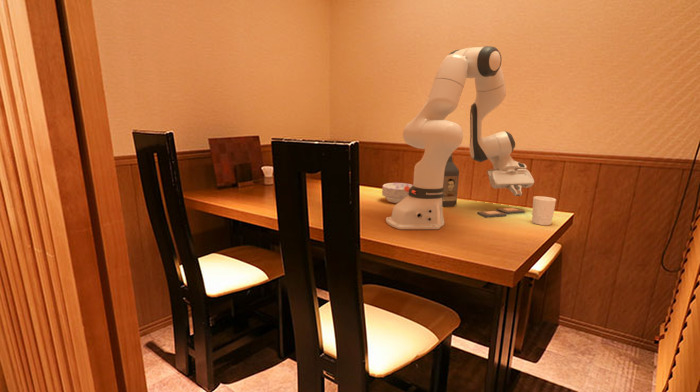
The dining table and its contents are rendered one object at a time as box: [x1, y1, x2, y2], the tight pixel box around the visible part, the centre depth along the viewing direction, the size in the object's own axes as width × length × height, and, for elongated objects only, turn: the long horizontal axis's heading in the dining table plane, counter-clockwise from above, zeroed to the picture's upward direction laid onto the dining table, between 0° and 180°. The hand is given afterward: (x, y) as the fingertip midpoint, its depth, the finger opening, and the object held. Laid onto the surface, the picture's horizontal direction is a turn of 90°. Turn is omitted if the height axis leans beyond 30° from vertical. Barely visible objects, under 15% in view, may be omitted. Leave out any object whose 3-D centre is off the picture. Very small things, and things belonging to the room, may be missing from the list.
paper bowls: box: [382, 182, 413, 204], centre depth 177 cm, size 15×15×8 cm
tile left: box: [476, 210, 508, 219], centre depth 156 cm, size 10×6×1 cm, turn 106°
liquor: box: [442, 151, 460, 208], centre depth 170 cm, size 9×9×30 cm
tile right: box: [495, 207, 526, 215], centre depth 162 cm, size 10×6×1 cm, turn 106°
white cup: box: [531, 195, 557, 226], centre depth 145 cm, size 8×8×10 cm
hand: (518, 195), depth 157 cm, fingers closed
